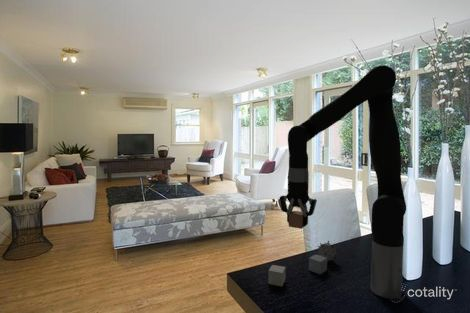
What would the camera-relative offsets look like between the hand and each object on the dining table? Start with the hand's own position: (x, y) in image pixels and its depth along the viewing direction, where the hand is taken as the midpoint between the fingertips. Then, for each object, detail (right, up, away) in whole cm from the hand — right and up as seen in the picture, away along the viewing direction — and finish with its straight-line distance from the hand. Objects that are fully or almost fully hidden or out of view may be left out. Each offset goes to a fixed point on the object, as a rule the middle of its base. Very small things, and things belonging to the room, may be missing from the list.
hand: (297, 224), depth 110 cm
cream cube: (-8, -20, -4) cm, 22 cm away
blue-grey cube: (+9, -19, +5) cm, 22 cm away
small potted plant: (+15, -19, +13) cm, 28 cm away
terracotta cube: (0, 0, 0) cm, 0 cm away
